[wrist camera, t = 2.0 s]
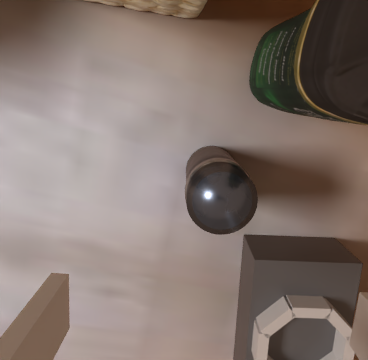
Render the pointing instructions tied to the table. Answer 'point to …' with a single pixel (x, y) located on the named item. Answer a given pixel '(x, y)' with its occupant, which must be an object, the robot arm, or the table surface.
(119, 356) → the table surface
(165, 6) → the storage basket
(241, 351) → the camera body
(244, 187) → the dark grey peg
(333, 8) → the coffee jar
